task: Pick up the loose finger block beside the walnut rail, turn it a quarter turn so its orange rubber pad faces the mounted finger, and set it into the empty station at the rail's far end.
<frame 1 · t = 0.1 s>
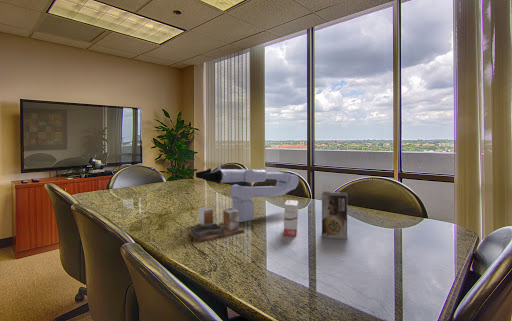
hand: (199, 175, 111), 22 cm above the table, tool horizontal, fingers open, 7 cm apart
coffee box: (334, 235, 102), on the table
finger block: (205, 224, 116), on the table
ink box: (291, 232, 106), on the table
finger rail: (216, 232, 106), on the table
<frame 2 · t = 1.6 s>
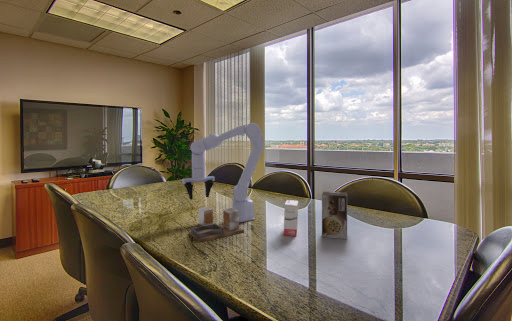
hand: (199, 198, 121), 10 cm above the table, tool pointing down, fingers open, 7 cm apart
nothing on the table moved.
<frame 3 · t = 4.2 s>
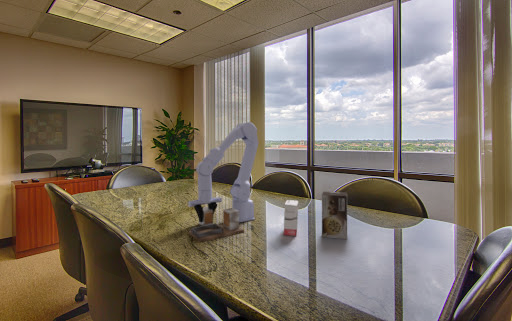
hand: (205, 220, 116), 2 cm above the table, tool pointing down, fingers closed on finger block, 4 cm apart
finger block: (205, 224, 116), on the table, touching gripper
everything else where it was.
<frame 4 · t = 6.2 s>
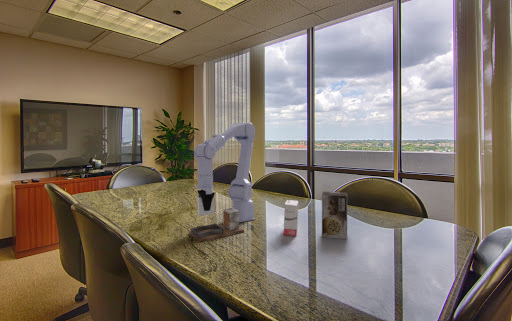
hand: (206, 209, 105), 9 cm above the table, tool pointing down, fingers closed on finger block, 4 cm apart
finger block: (206, 213, 105), point 8 cm above the table, touching gripper
everything else where it was.
when the fingers open (4 cm above the table, at t = 8.3 s): finger block drops 1 cm, resting on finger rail.
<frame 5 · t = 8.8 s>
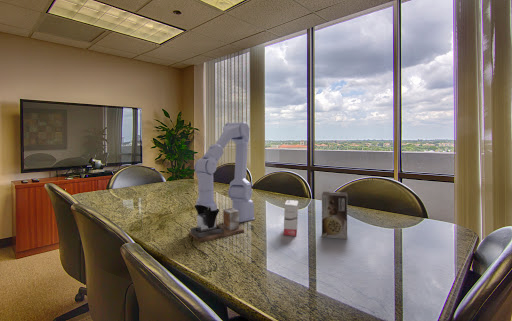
hand: (206, 225, 103), 4 cm above the table, tool pointing down, fingers open, 7 cm apart
finger block: (206, 232, 103), point 1 cm above the table, touching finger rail
everything else where it was.
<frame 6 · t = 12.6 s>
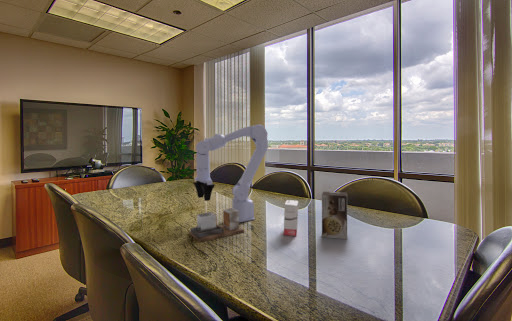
hand: (203, 198, 119), 10 cm above the table, tool pointing down, fingers open, 7 cm apart
nothing on the table moved.
at the end: finger block 0.1 cm from the target spot on the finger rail, point 1.0 cm above the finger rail's base; finger block tilted 0°; the gripper is holding nothing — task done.
